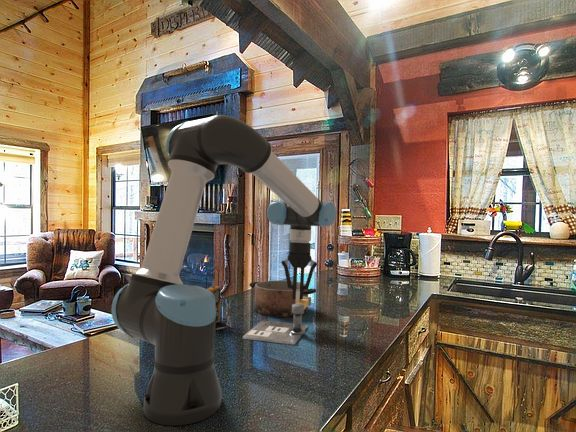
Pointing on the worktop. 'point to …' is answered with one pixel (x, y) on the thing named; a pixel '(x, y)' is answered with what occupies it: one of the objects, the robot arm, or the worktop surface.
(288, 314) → the cooking pot
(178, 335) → the robot arm
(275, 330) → the label
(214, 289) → the multimeter
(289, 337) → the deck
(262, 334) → the label
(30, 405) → the worktop surface
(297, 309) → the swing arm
